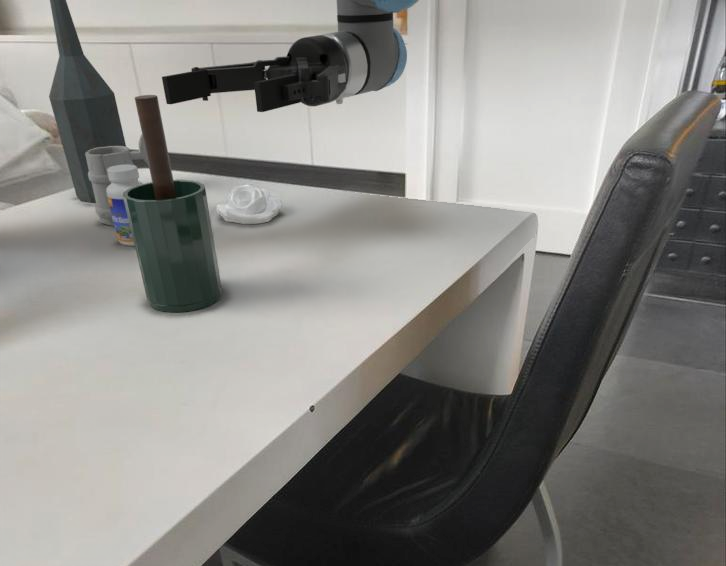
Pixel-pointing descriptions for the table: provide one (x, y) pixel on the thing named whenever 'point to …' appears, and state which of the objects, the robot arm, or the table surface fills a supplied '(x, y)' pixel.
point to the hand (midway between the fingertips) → (210, 93)
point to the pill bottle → (121, 199)
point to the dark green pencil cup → (174, 246)
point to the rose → (249, 205)
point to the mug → (99, 177)
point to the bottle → (80, 103)
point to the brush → (155, 146)
